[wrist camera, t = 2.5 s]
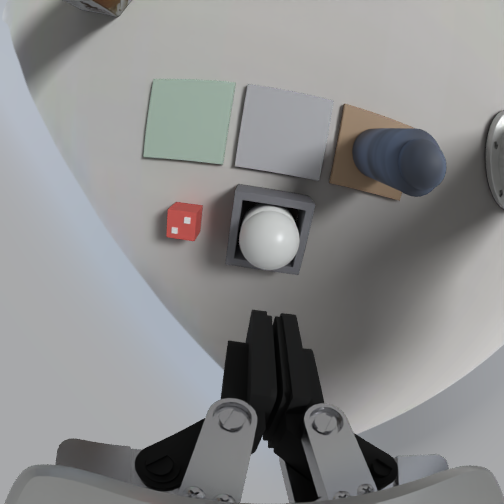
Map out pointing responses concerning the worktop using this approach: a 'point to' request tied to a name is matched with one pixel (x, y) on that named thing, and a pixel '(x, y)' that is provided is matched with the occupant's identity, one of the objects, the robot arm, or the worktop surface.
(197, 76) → the worktop surface
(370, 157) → the pawn
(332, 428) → the robot arm
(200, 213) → the game board
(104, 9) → the coffee box
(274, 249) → the popper dome
